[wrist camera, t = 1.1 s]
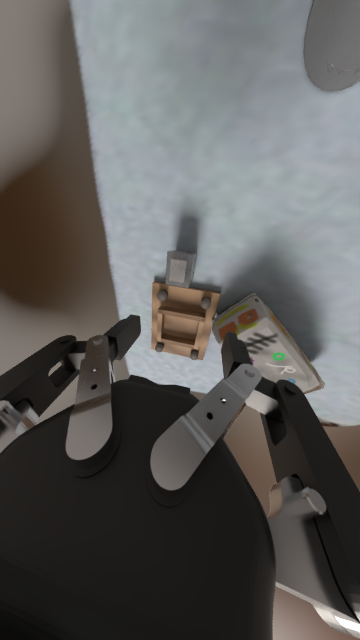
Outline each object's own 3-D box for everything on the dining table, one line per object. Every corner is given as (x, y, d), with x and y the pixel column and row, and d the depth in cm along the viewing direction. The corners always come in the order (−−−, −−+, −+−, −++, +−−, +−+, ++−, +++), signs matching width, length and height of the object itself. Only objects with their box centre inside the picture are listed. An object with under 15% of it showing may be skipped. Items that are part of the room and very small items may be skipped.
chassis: (154, 281, 30) (148, 285, 27) (220, 292, 28) (221, 297, 25) (153, 346, 38) (148, 353, 36) (202, 357, 37) (202, 366, 34)
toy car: (267, 381, 37) (284, 423, 28) (208, 318, 31) (208, 345, 23) (311, 366, 32) (349, 409, 24) (252, 287, 27) (273, 307, 18)
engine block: (175, 250, 26) (166, 251, 20) (196, 253, 26) (193, 255, 20) (173, 277, 28) (164, 285, 23) (192, 280, 28) (188, 289, 22)
